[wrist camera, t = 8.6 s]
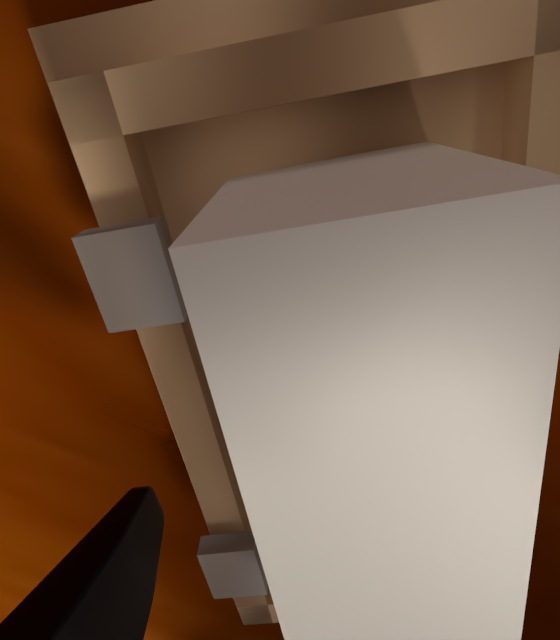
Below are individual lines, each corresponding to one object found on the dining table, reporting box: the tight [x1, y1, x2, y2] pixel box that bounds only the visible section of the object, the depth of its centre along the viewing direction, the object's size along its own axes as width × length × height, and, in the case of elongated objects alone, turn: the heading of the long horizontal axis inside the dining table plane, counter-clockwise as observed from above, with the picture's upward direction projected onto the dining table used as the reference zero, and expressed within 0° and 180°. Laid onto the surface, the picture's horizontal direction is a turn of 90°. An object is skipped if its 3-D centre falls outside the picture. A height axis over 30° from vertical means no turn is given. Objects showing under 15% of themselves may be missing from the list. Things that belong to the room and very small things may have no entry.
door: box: [168, 141, 560, 640], centre depth 9 cm, size 4×12×5 cm, turn 10°
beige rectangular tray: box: [28, 0, 560, 625], centre depth 11 cm, size 10×18×3 cm, turn 10°
